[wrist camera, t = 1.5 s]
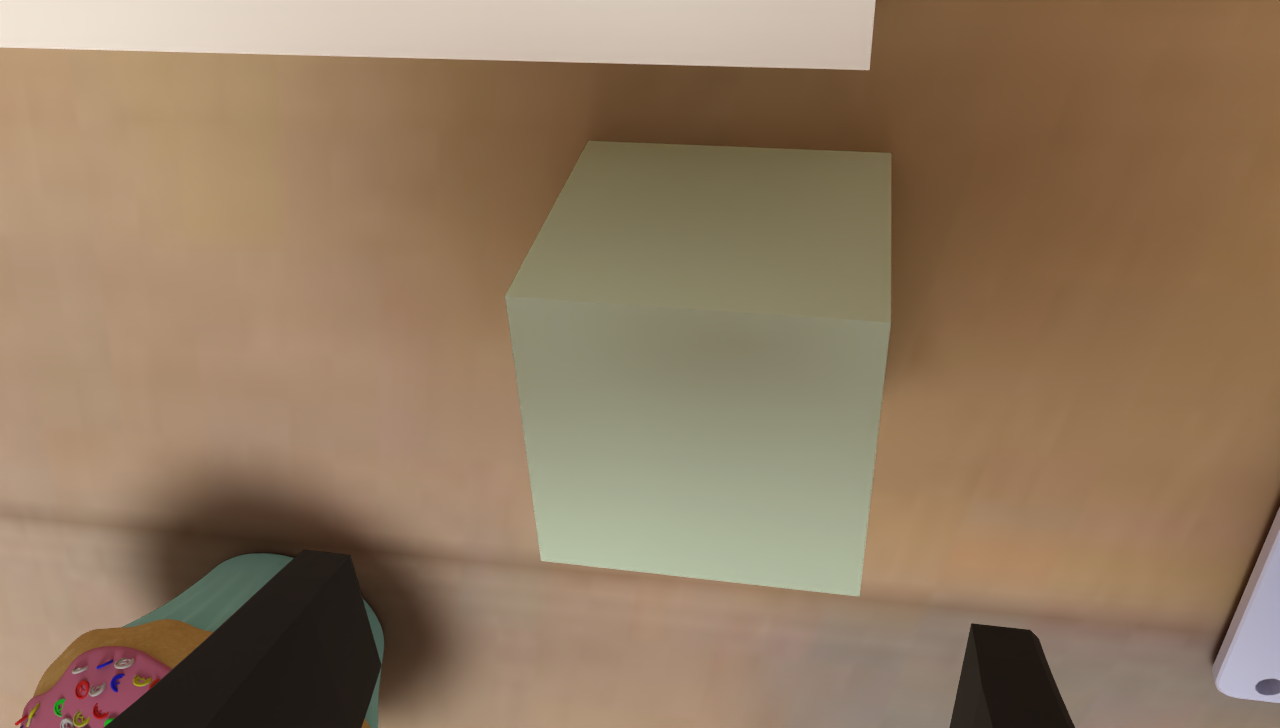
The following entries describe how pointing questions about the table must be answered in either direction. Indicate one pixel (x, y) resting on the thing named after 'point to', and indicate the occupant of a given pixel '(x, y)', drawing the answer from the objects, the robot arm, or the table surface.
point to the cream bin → (464, 29)
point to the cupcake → (154, 649)
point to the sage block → (707, 361)
